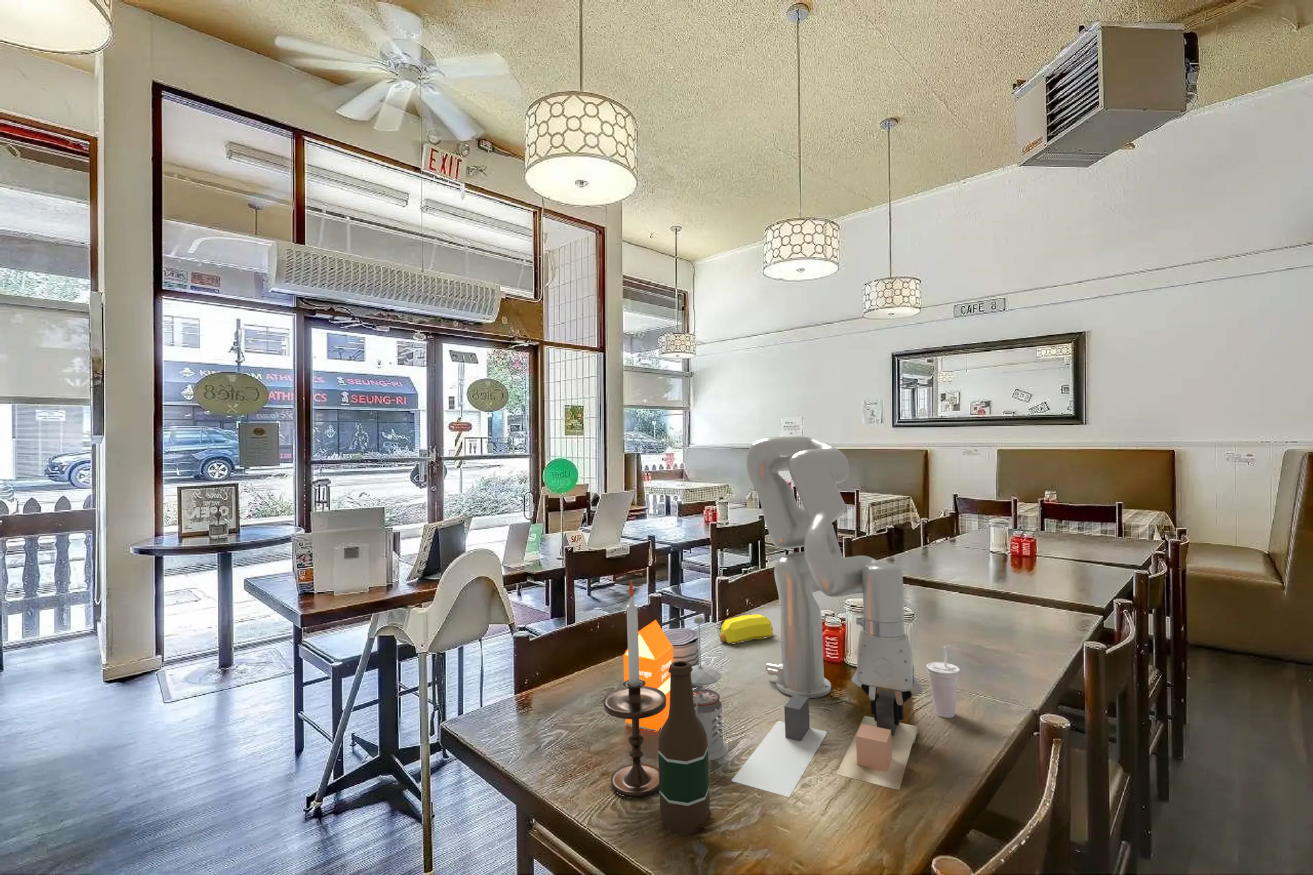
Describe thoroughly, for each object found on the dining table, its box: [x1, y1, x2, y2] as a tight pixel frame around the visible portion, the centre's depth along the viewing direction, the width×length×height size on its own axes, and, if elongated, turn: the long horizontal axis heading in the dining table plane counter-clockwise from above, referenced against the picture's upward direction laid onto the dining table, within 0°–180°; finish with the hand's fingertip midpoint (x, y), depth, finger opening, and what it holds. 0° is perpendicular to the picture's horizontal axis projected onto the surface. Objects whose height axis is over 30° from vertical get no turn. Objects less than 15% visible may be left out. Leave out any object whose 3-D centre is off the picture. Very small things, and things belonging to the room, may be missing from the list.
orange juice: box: [622, 619, 673, 732], centre depth 124 cm, size 8×9×20 cm
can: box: [662, 627, 700, 689], centre depth 142 cm, size 11×11×12 cm
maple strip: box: [835, 689, 919, 791], centre depth 107 cm, size 10×24×7 cm, turn 149°
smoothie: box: [925, 645, 961, 719], centre depth 122 cm, size 6×6×14 cm
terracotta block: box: [856, 723, 892, 772], centre depth 103 cm, size 5×5×5 cm
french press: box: [691, 615, 729, 761], centre depth 111 cm, size 10×12×25 cm
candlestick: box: [603, 579, 666, 799], centre depth 101 cm, size 11×11×35 cm
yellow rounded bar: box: [719, 613, 774, 644], centre depth 173 cm, size 18×7×8 cm
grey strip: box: [731, 695, 828, 798], centre depth 106 cm, size 10×24×7 cm, turn 149°
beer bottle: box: [657, 661, 711, 836], centre depth 90 cm, size 8×8×24 cm
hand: (887, 719), depth 115 cm, fingers closed on maple strip, 3 cm apart
